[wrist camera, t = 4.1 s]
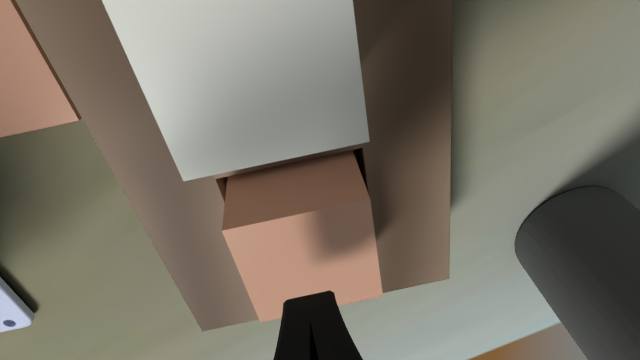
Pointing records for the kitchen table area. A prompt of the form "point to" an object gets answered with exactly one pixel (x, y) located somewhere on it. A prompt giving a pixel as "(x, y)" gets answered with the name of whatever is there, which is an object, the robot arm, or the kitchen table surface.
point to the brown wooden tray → (209, 192)
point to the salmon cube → (302, 232)
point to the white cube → (245, 78)
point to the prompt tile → (28, 79)
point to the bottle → (588, 268)
